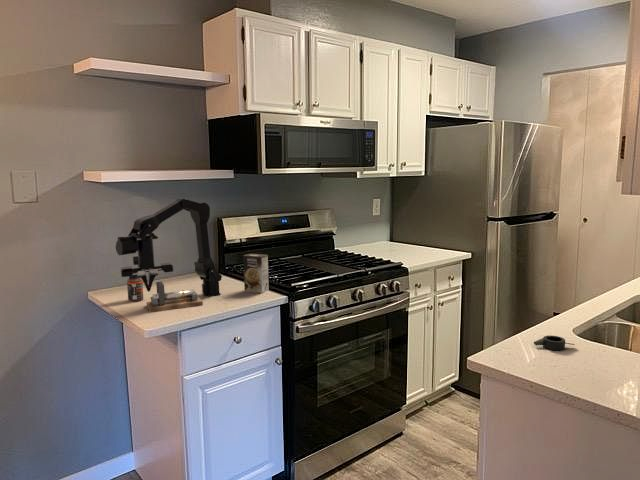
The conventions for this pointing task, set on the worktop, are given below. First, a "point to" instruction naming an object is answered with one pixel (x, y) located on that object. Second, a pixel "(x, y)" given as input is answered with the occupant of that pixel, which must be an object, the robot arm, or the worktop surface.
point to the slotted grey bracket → (161, 292)
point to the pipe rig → (175, 296)
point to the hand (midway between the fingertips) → (148, 291)
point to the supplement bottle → (135, 288)
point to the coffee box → (256, 273)
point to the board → (175, 304)
